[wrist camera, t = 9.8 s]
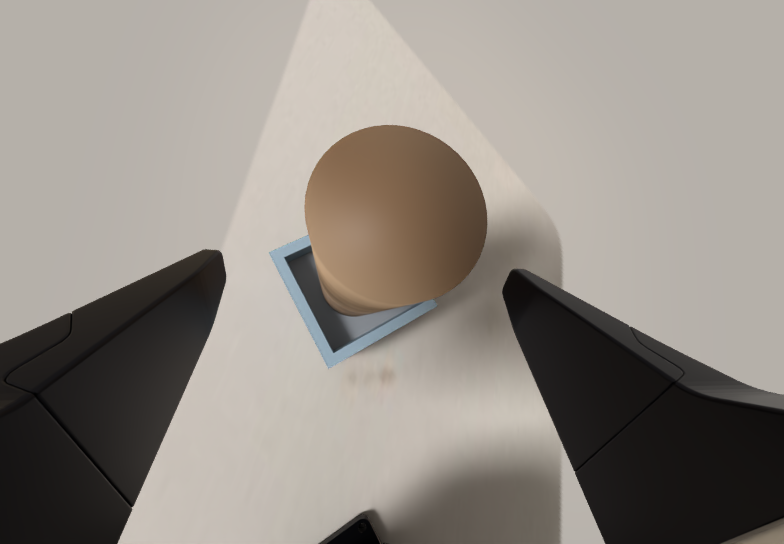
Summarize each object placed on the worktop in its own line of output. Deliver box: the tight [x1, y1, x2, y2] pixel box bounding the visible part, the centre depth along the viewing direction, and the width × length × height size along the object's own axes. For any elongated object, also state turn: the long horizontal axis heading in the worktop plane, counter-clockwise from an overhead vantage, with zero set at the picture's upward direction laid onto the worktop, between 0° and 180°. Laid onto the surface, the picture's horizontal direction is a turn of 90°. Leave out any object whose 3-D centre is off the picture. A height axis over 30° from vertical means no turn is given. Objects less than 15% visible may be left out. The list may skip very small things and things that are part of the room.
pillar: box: [305, 125, 487, 317], centre depth 13 cm, size 4×4×13 cm
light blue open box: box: [269, 235, 437, 369], centre depth 19 cm, size 7×7×4 cm
